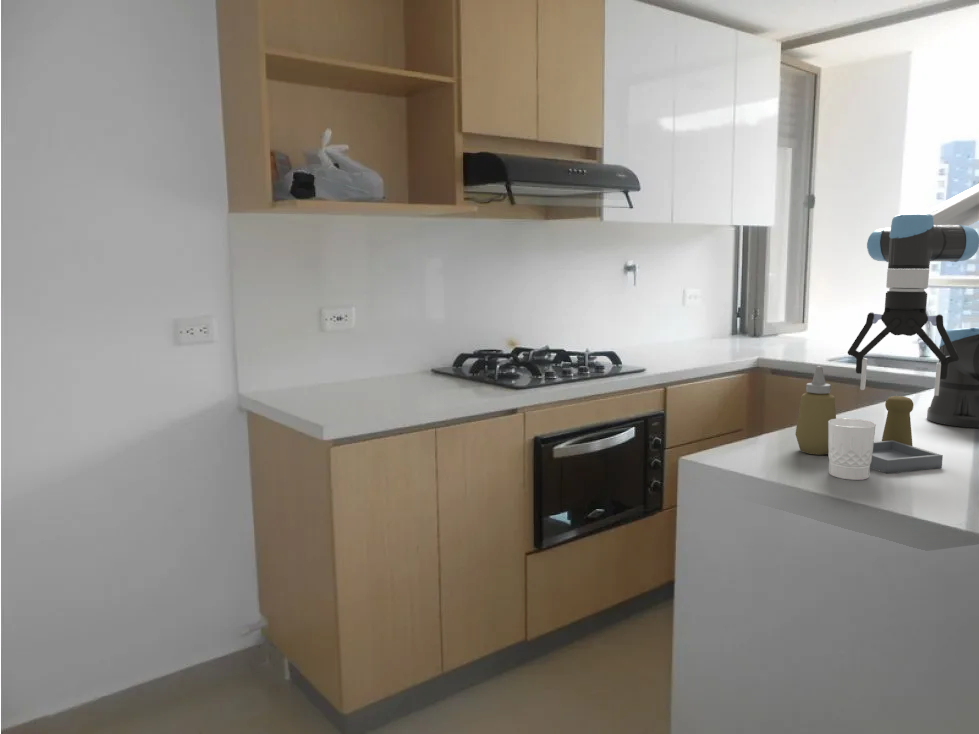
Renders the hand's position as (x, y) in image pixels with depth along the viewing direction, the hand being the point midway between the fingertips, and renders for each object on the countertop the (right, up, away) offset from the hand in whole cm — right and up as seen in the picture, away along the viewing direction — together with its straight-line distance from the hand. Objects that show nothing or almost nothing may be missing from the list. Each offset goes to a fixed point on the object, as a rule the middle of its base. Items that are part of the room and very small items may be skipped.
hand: (898, 392), depth 157 cm
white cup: (-19, -15, -17) cm, 30 cm away
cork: (+1, -12, +2) cm, 12 cm away
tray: (-7, -14, -9) cm, 18 cm away
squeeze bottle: (-18, -13, -1) cm, 22 cm away
